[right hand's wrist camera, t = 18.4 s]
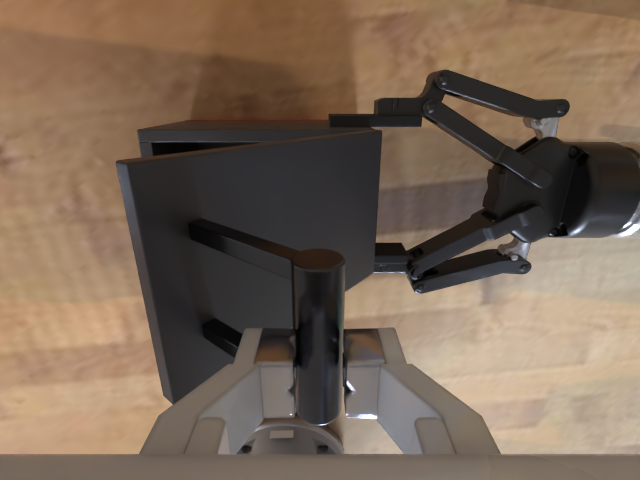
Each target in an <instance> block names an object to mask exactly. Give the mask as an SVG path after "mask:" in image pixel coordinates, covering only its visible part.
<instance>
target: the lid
mask: <svg viewBox="0 0 640 480" xmlns="http://www.w3.org/2000/svg"><path fill="white" fill-rule="evenodd" d="M381 141H382V131H381V130H364V131H356V132H348V133H339V134H331V135H323V136H315V137H306V138H298V139H290V140H282V141H273V142H265V143H257V144H249V145H240V146H232V147H224V148H216V149H207V150H199V151H191V152H183V153H174V154H166V155H158V156H150V157H141V158H133V159H125V160H118V161H116V167H117V171H118V176H119V181H120V186H121V191H122V196H123V201H124V206H125V210H126V215H127V220H128V225H129V230H130V235H131V240H132V245H133V249H134V254H135V259H136V264H137V269H138V274H139V279H140V284H141V288H142V293H143V298H144V303H145V308H146V313H147V318H148V323H149V327H150V332H151V337H152V342H153V347H154V352H155V357H156V362H157V366H158V371H159V376H160V381H161V386H162V391H163V396H164V397H166V398H167V399H168V400H169V401H170V402H171V403H172V404H173V405H174V404H175V403H176V402H178V401H179V400H180V399H182V398H183V397H184V396H186V395H187V394H188V393H190V392H191V391H193V390H194V389H195V388H197V387H198V386H199V385H201V384H202V383H203V382H205V381H206V380H207V379H209V378H210V377H211V376H213V375H214V374H215V373H217V372H218V371H219V370H221V369H222V368H223V367H225V366H226V365H227V364H233V363H234V360H235V357H236V354H237V350H238V347H239V344H240V341H241V338H242V335H243V332H244V330H245V329H246V328H292V327H293V329H297V351H296V352H297V355H298V375H297V387H296V403H295V407H296V412H297V414H298V415H299V417H300V418H301V419H302V420H303V421H305V422H306V423H308V424H311V425H325V424H328V423H330V422H332V421H334V420H335V419H336V418H337V417H338V415H339V414H340V412H341V406H342V353H343V329H344V299H345V292H346V291H347V290H349V289H350V288H352V287H353V286H355V285H356V284H358V283H359V282H361V281H362V280H364V279H365V278H367V277H368V276H370V275H371V274H373V273H374V259H375V242H376V225H377V208H378V192H379V175H380V158H381Z"/></svg>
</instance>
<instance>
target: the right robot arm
mask: <svg viewBox="0 0 640 480" xmlns="http://www.w3.org/2000/svg"><path fill="white" fill-rule="evenodd" d="M296 351H297V329H292V328H246V329H245V330H244V332H243V335H242V338H241V341H240V344H239V347H238V350H237V354H236V357H235V360H234V363H233V364H227V365H226V366H225V367H223V368H222V369H221V370H219V371H218V372H217V373H215V374H214V375H213V376H211V377H210V378H209V379H207V380H206V381H205V382H203V383H202V384H201V385H199V386H198V387H197V388H195V389H194V390H193V391H191V392H190V393H188V394H187V395H186V396H184V397H183V398H182V399H180V400H179V401H178V402H176V403H175V404H174V405H172V406H171V407H170V408H168V409H167V410H166V411H164V412H163V413H162V414H160V415H159V416H158V418H157V420H156V422H155V424H154V426H153V428H152V430H151V432H150V434H149V436H148V437H147V439H146V441H145V443H144V445H143V447H142V449H141V451H140V453H139V454H0V480H640V454H501V453H500V451H499V449H498V447H497V445H496V443H495V441H494V439H493V437H492V435H491V433H490V431H489V429H488V428H487V426H486V424H485V422H484V420H483V418H482V416H481V415H479V414H478V413H477V412H475V411H474V410H473V409H471V408H470V407H469V406H467V405H466V404H465V403H463V402H462V401H461V400H459V399H458V398H457V397H455V396H454V395H453V394H451V393H450V392H449V391H447V390H446V389H445V388H443V387H442V386H441V385H439V384H438V383H437V382H435V381H434V380H433V379H431V378H430V377H429V376H427V375H426V374H425V373H423V372H422V371H421V370H419V369H418V368H417V367H415V366H414V365H413V364H407V363H406V360H405V357H404V354H403V351H402V348H401V345H400V342H399V339H398V336H397V333H396V330H395V329H394V328H377V329H343V351H344V352H343V353H342V377H343V387H344V403H345V414H346V418H377V421H378V422H379V423H380V425H381V426H382V427H383V428H384V430H385V431H386V432H387V433H388V434H389V436H390V437H391V438H392V439H393V441H394V442H395V443H396V444H397V446H398V447H399V448H400V449H401V451H402V452H403V453H404V454H236V453H237V452H238V451H239V450H240V448H241V447H242V446H243V445H244V443H245V442H246V441H247V440H248V438H249V437H250V436H251V435H252V434H253V432H254V431H255V430H256V429H257V427H258V426H259V425H260V424H261V422H262V421H263V418H294V414H295V403H296V387H297V375H298V355H297V352H296Z"/></svg>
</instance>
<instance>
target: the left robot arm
mask: <svg viewBox="0 0 640 480" xmlns="http://www.w3.org/2000/svg"><path fill="white" fill-rule="evenodd" d="M445 94H447V95H450V96H453V97H456V98H459V99H462V100H465V101H468V102H471V103H474V104H477V105H480V106H483V107H486V108H489V109H492V110H495V111H498V112H501V113H504V114H507V115H511V116H517V117H524V118H523V122H524V124H525V126H526V127H527V128H531V129H533V130H534V131H535V133H536V137H534V138H532V139H530V140H529V141H527V142H526V143H524V144H523V145H521V146H520V147H518V148H517V149H515V150H514V149H512V148H510V147H508V146H506V145H504V144H503V143H501V142H500V141H498V140H497V139H495V138H494V137H492V136H491V135H489V134H488V133H486V132H485V131H483V130H482V129H480V128H479V127H477V126H476V125H475V124H473V123H472V122H470V121H469V120H467V119H466V118H464V117H463V116H461V115H460V114H458V113H457V112H455V111H454V110H452V109H451V108H449V107H448V106H446V105H445V104H443V103H442V99H443V97H444V95H445ZM569 108H570V105H569V102H568V101H567V100H564V99H536V100H535V99H532V98H529V97H526V96H523V95H520V94H517V93H514V92H511V91H508V90H505V89H502V88H499V87H496V86H493V85H490V84H488V83H485V82H482V81H479V80H476V79H473V78H470V77H467V76H464V75H461V74H458V73H455V72H452V71H449V70H442V71H437V72H433V73H431V74H429V75H428V77H427V79H426V85H425V87H424V90H423V92H422V93H421V94H420V95H419V96H418V97H415V98H380V99H378V100H375V101H374V114H329V126H330V127H421V123H422V117H424V118H425V119H427V120H428V121H430V122H431V123H433V124H435V125H436V126H438V127H439V128H441V129H442V130H444V131H445V132H447V133H448V134H450V135H451V136H453V137H454V138H456V139H457V140H459V141H461V142H462V143H464V144H465V145H467V146H468V147H470V148H471V149H473V150H474V151H476V152H477V153H479V154H480V155H481V156H482V157H484V158H485V159H487V160H488V161H490V162H491V163H493V164H495V165H494V166H493V168H492V169H489V171H488V177H487V182H488V189H487V192H486V194H485V196H484V200H483V207H485V208H484V209H482V210H480V211H478V212H476V213H474V214H472V215H471V218H470V219H468V220H466V221H464V222H462V223H460V224H458V225H456V226H454V227H452V228H450V229H448V230H447V231H445V232H443V233H441V234H439V235H437V236H435V237H433V238H431V239H429V240H427V241H425V242H423V243H421V244H419V245H417V246H415V247H413V248H411V249H409V250H407V251H406V250H405V248H404V247H403V245H402V243H375V259H374V273H380V272H381V273H385V272H386V273H405V274H407V278H408V280H409V282H410V284H411V286H412V288H413V290H414V292H415V293H417V294H423V293H427V292H430V291H434V290H438V289H442V288H446V287H450V286H454V285H458V284H462V283H466V282H470V281H474V280H478V279H482V278H485V277H489V276H493V275H497V274H501V273H509V274H526V273H528V272H529V271H530V269H531V263H529V262H528V261H527V260H526V258H527V254H528V251H529V248H530V244H531V243H532V242H535V241H537V240H539V239H542V238H545V237H557V238H601V237H611V238H639V237H640V143H631V142H621V143H613V142H563V141H561V140H560V139H558V138H556V132H557V126H558V121H559V117H562V116H564V115H566V114H567V112H568V111H569ZM492 221H494V222H492ZM508 233H510V234H511V235H513V236H514V239H513V240H512V242H510V243H508V244H504V245H503V244H501V245H499V246H498V249H489V250H484V251H480V252H476V253H472V254H468V255H464V256H461V257H457V258H453V259H450V258H452V257H454V256H456V255H458V254H460V253H462V252H464V251H466V250H468V249H470V248H472V247H474V246H476V245H478V244H480V243H482V242H484V241H486V240H495V239H498V238H500V237H502V236H504V235H506V234H508ZM448 259H449V260H448ZM236 454H344V449H343V446H342V443H341V441H340V440H339V438H338V437H337V435H336V434H335V433H334V432H333V431H332V430H331V429H330V428H328V427H327V426H325V425H311V424H308V423H306V422H305V421H303V420H302V419H301V418H300V417H299V415H294V418H263V421H262V422H261V424H260V425H259V426H258V427H257V429H256V430H255V431H254V432H253V434H252V435H251V436H250V437H249V438H248V440H247V441H246V442H245V443H244V445H243V446H242V447H241V448H240V450H239V451H238V452H237V453H236Z"/></svg>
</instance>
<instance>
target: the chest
mask: <svg viewBox="0 0 640 480" xmlns="http://www.w3.org/2000/svg"><path fill="white" fill-rule="evenodd" d="M364 130H375V129H373V128H371V127H330V126H329V120H187V121H183V122H177V123H172V124H166V125H161V126H155V127H150V128H144V129H139V130H137V133H138V138H139V142H140V143H139V145H140V151H141V156H142V157H150V156H158V155H166V154H174V153H183V152H191V151H199V150H207V149H216V148H224V147H232V146H240V145H249V144H257V143H265V142H273V141H282V140H290V139H298V138H306V137H315V136H323V135H331V134H339V133H348V132H356V131H364Z"/></svg>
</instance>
